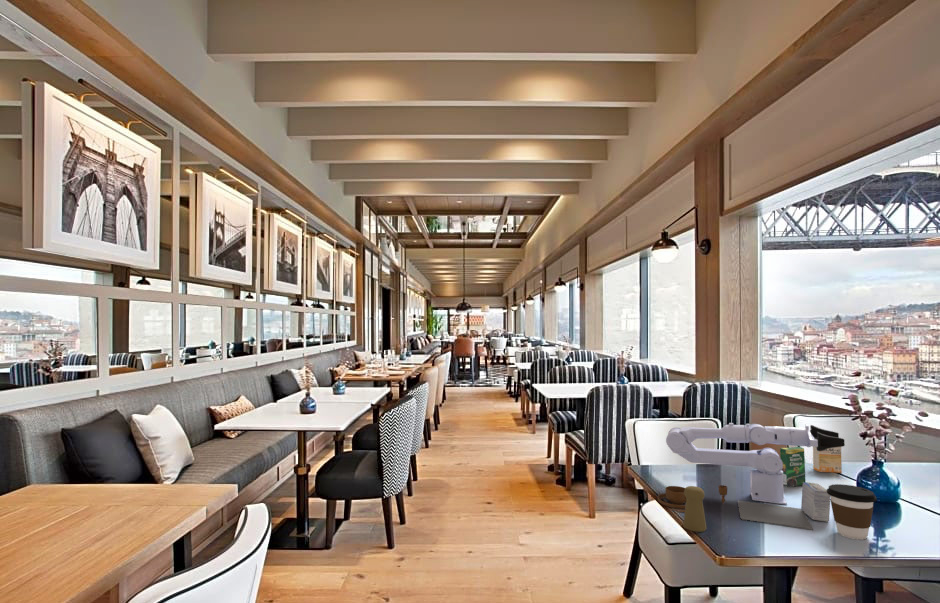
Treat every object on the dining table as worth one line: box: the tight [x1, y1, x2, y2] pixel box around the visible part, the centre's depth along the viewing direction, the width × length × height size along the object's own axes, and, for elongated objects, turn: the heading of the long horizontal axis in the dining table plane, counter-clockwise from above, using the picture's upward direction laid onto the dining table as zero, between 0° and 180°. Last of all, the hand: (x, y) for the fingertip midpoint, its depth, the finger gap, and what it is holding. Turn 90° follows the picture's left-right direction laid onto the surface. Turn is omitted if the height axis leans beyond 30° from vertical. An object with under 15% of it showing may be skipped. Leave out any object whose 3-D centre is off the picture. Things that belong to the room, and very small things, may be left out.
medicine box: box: [800, 481, 831, 523], centre depth 151 cm, size 8×4×9 cm, turn 168°
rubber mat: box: [737, 500, 814, 531], centre depth 153 cm, size 18×17×1 cm
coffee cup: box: [826, 483, 877, 541], centre depth 139 cm, size 11×11×12 cm
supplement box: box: [812, 446, 843, 474], centre depth 200 cm, size 8×5×13 cm, turn 81°
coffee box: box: [779, 446, 806, 488], centre depth 182 cm, size 8×3×13 cm, turn 101°
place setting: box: [656, 484, 728, 513], centre depth 161 cm, size 18×20×6 cm
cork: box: [682, 485, 707, 533], centre depth 143 cm, size 6×6×11 cm
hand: (841, 439), depth 159 cm, fingers open, 7 cm apart
